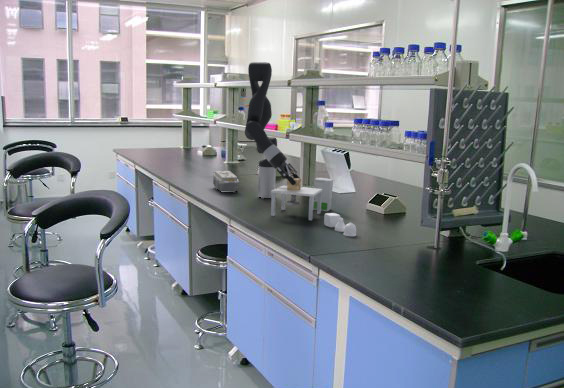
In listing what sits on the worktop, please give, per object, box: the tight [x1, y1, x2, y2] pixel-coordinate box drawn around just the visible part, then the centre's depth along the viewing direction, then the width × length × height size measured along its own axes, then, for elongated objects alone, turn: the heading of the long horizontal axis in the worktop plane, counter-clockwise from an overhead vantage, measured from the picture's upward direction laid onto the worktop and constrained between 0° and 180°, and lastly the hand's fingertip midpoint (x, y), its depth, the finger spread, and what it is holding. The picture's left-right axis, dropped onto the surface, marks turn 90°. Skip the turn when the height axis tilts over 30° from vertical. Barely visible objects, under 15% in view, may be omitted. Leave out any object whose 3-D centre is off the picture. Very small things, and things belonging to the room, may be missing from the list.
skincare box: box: [313, 177, 334, 213], centre depth 251 cm, size 8×7×16 cm
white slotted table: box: [270, 185, 322, 221], centre depth 238 cm, size 16×20×12 cm
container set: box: [323, 212, 357, 237], centre depth 213 cm, size 20×5×6 cm, turn 24°
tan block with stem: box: [286, 177, 302, 206], centre depth 238 cm, size 6×6×12 cm
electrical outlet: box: [212, 170, 240, 192], centre depth 296 cm, size 12×28×10 cm, turn 21°
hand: (297, 182), depth 236 cm, fingers open, 7 cm apart
